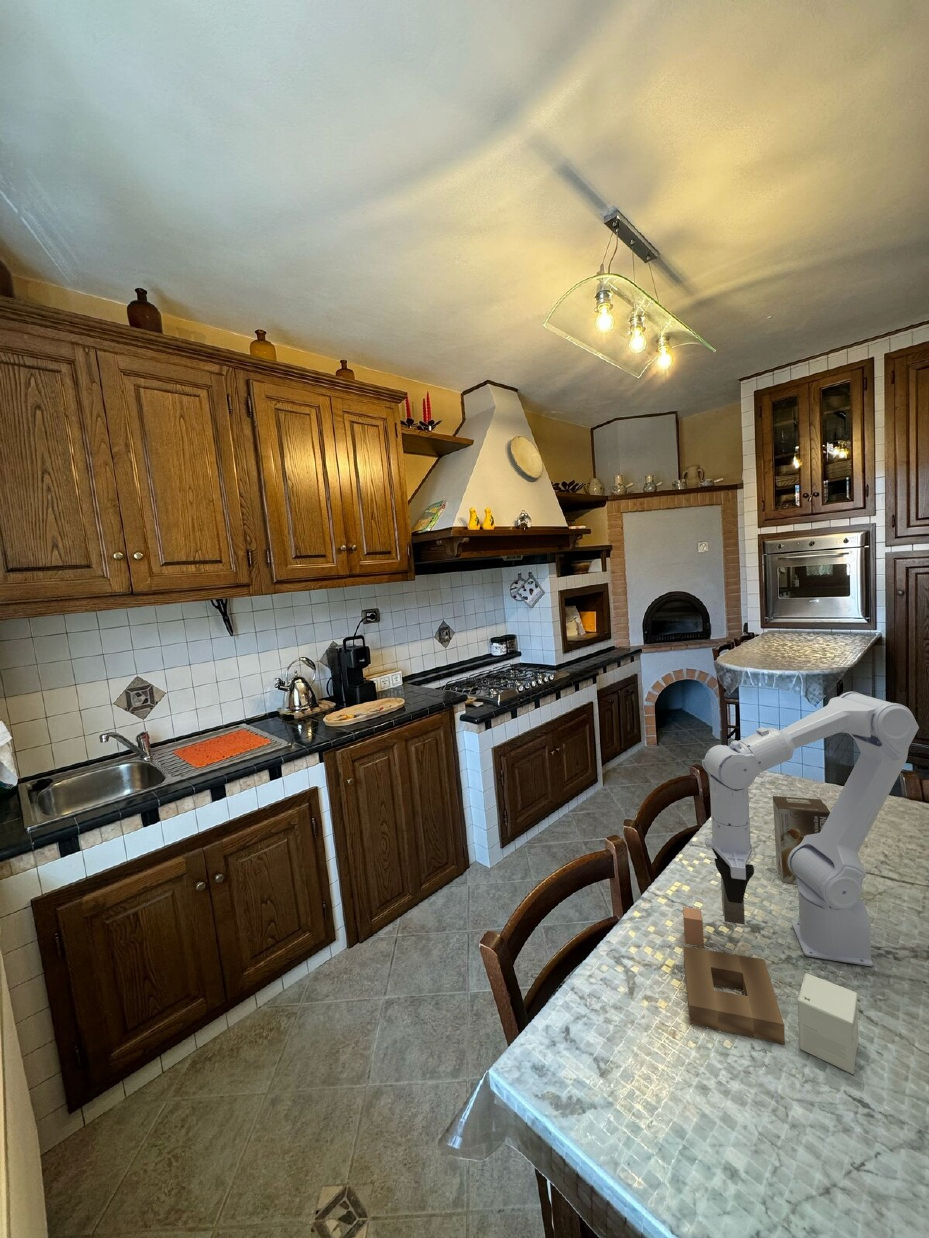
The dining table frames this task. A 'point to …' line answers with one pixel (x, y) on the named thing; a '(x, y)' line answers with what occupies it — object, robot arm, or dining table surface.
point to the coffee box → (795, 827)
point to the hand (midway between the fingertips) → (733, 894)
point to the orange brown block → (693, 926)
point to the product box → (828, 1022)
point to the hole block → (732, 994)
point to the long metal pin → (732, 908)
